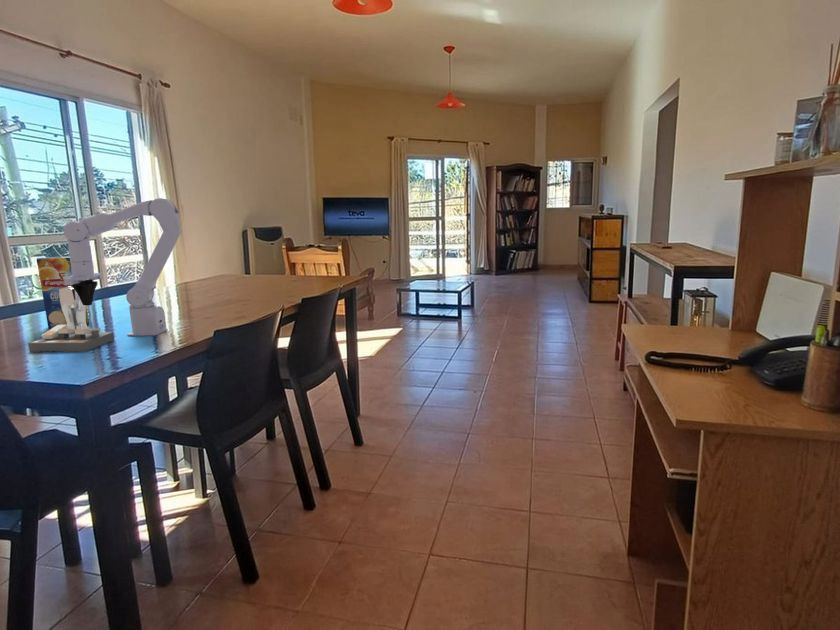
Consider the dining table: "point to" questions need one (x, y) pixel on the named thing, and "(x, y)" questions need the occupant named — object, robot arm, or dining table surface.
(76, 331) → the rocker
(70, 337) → the switch unit
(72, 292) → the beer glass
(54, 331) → the rocker
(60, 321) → the juice carton
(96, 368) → the dining table surface
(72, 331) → the rocker middle
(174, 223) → the robot arm
